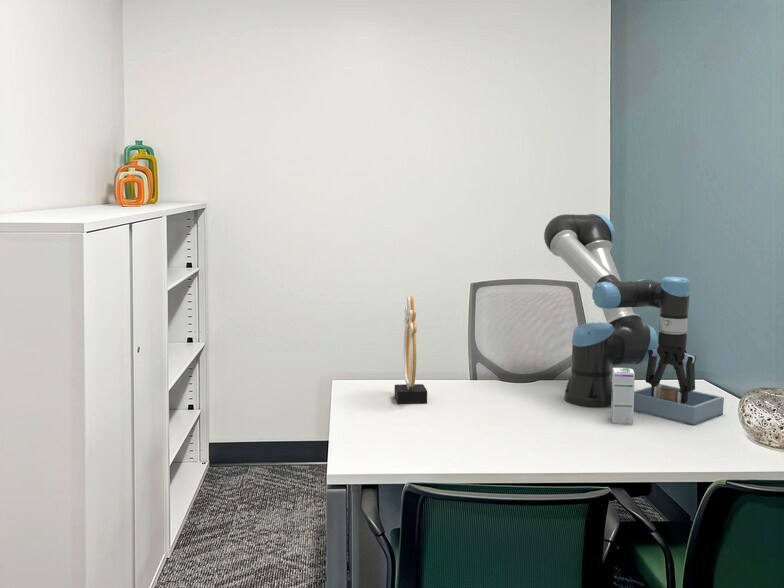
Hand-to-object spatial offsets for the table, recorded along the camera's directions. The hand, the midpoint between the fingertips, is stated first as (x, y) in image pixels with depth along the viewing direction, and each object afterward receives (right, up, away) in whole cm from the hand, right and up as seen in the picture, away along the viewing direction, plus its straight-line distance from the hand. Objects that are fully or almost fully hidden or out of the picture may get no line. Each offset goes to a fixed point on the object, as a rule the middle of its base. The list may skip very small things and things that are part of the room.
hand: (668, 410), depth 221 cm
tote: (+3, -1, +3) cm, 4 cm away
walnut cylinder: (0, -1, 0) cm, 1 cm away
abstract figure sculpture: (-74, +1, +13) cm, 75 cm away
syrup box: (-15, -2, -6) cm, 17 cm away
